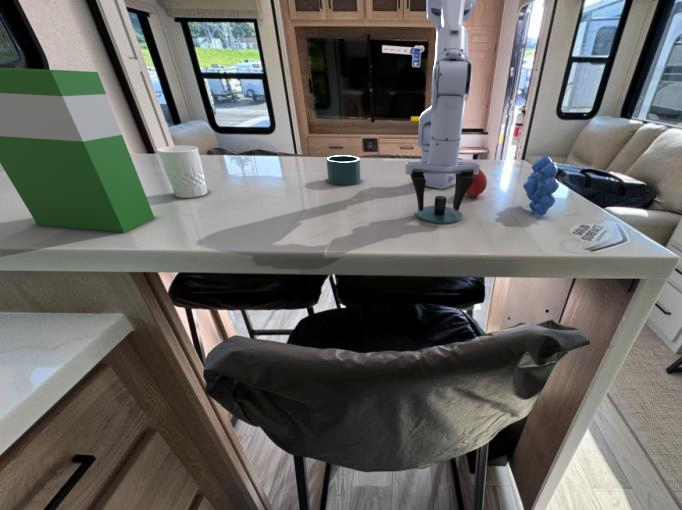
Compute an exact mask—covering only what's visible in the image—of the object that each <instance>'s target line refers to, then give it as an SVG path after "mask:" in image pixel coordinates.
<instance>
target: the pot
mask: <svg viewBox="0 0 682 510" xmlns="http://www.w3.org/2000/svg"><path fill="white" fill-rule="evenodd" d="M326 167H327V168H326V170H327V180H328V184H332V185H334V186H353V185H358V184H360V183H361V159H360V158H359V157H357V156H354V155H331V156H329V157H327V158H326Z"/></svg>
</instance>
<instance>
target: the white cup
mask: <svg viewBox="0 0 682 510" xmlns="http://www.w3.org/2000/svg"><path fill="white" fill-rule="evenodd" d="M156 151H157V154H158V156H159V159H160V162H161V164H162V167H163V170H164V172H165V174H166V176H167V179H168V182H169V183H170V185H171V188H172V190H173V193H174V195H175V196H176V198H180V199H193V198H199V197H203V196H205V195H207V194H208V188H207V184H206V178H205V172H204V169H203V163H202V160H201V155H200V151H199V147H198V146H194V145H169V146H164V147H163V146H162V147H159V148H157V149H156Z"/></svg>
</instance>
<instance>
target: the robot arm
mask: <svg viewBox="0 0 682 510" xmlns="http://www.w3.org/2000/svg"><path fill="white" fill-rule="evenodd" d="M425 1H426V2H425V4H426V11H425V12H426V19H427V20H429V21H431V22H432V23H433V24H434V27H435V33H436V34H435V35H436V38H435V50H434V51H435V52H434V61H433V62H434V64H433V68H432V75H431V89H430V90H431V101H430V106H429V107H428V108H426V109H425V110H424V111H423V112H422V113H421V114H420V116H419V121H418V122H419V123H418V130H417V146H418V147H419V148H421V157H420V158H421V159H420V160H421V161H420V160H417V161H405V169H404V172H405V174H406V175H409V176H410V179H411V181H412V184H413V187H414V191H415V194H416V195H415V196H416V200H417V201H416V202H417V208H418V209H419V211H423V207H425V205H424V200H425V199H424V198H425V189H426V187H429V188H435V189H438V190H444V189H446V188H450V187H452V186H454V185H455V187H454V196H453V201H452V208H453V209H455V211H460V207H461V205H462V203H463V199H464V197H465V196H466V194H467V193H466V192H467V190H468V189H469V187H470V186H471V184H472V183H473V181H474V176H473V175H478V173H479V168H480V167H481V165H480V163H478V162H476V161H475V162H470V161H459V155H460V147H461V138H462V131H463V122H464V115H465V107H466V101H467V100H468V98H469V96H470V92H471V86H472V79H473V64H472V63H473V62H472V60H471V57H469V33H468V31H467V29H466V28H465V26H464V25H463V23H465V22H467V21H469V20H470V17H471V16H472V13H473V10H474V7H475V6H476V2H477V0H425ZM479 166H480V167H479ZM418 209H417V210H418Z"/></svg>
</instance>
